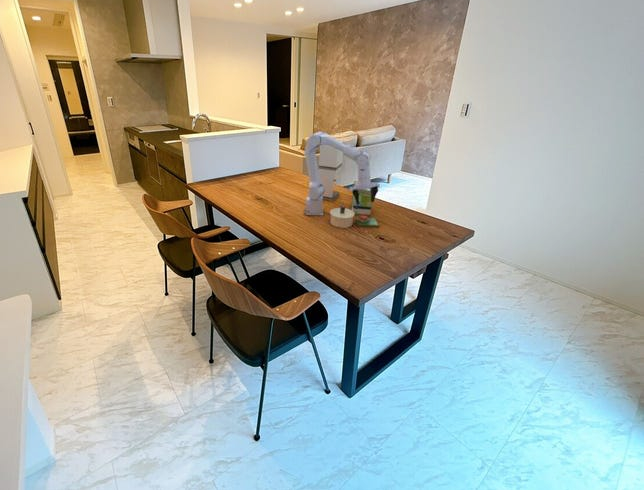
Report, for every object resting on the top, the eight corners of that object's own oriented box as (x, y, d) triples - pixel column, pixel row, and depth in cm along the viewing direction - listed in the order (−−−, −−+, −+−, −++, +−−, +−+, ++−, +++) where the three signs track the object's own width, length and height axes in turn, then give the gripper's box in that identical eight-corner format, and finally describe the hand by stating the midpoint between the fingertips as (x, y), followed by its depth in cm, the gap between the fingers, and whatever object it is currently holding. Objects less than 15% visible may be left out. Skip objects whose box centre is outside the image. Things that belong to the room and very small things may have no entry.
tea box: (370, 215, 163) (374, 190, 157) (352, 214, 165) (354, 189, 159) (368, 204, 176) (371, 181, 170) (351, 203, 178) (353, 180, 172)
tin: (334, 228, 149) (335, 219, 147) (327, 219, 160) (327, 209, 157) (356, 226, 151) (357, 217, 149) (347, 217, 161) (348, 208, 159)
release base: (357, 226, 151) (358, 221, 150) (355, 219, 158) (356, 214, 157) (378, 227, 150) (379, 222, 149) (374, 220, 158) (375, 215, 156)
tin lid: (334, 220, 147) (335, 212, 145) (326, 210, 158) (327, 202, 156) (358, 218, 149) (359, 210, 147) (348, 208, 160) (349, 201, 158)
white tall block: (333, 201, 182) (338, 143, 168) (317, 198, 187) (320, 142, 172) (338, 195, 191) (343, 140, 177) (323, 192, 196) (326, 138, 181)
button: (360, 220, 152) (360, 217, 151) (359, 217, 155) (359, 214, 154) (367, 220, 152) (367, 217, 151) (365, 217, 155) (366, 215, 154)
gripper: (351, 181, 142) (353, 207, 147) (381, 176, 142) (382, 203, 147) (347, 177, 149) (349, 203, 154) (376, 173, 149) (377, 198, 154)
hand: (365, 202), depth 151 cm, fingers open, 7 cm apart
